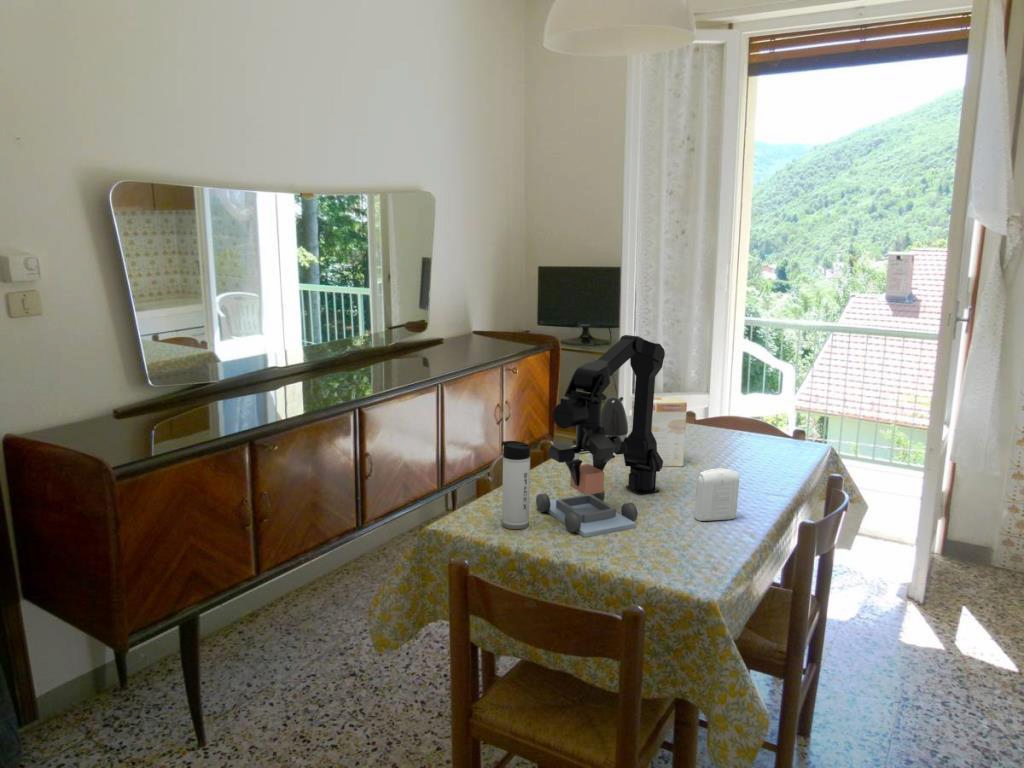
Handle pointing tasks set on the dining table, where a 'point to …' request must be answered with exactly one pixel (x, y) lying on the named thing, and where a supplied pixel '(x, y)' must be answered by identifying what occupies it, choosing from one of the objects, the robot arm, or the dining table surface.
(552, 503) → the chassis
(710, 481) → the photo printer
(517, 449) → the travel mug
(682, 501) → the dining table surface
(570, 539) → the dining table surface
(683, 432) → the coffeecake box
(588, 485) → the salmon pink brick
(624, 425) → the dark grey tapered dome
